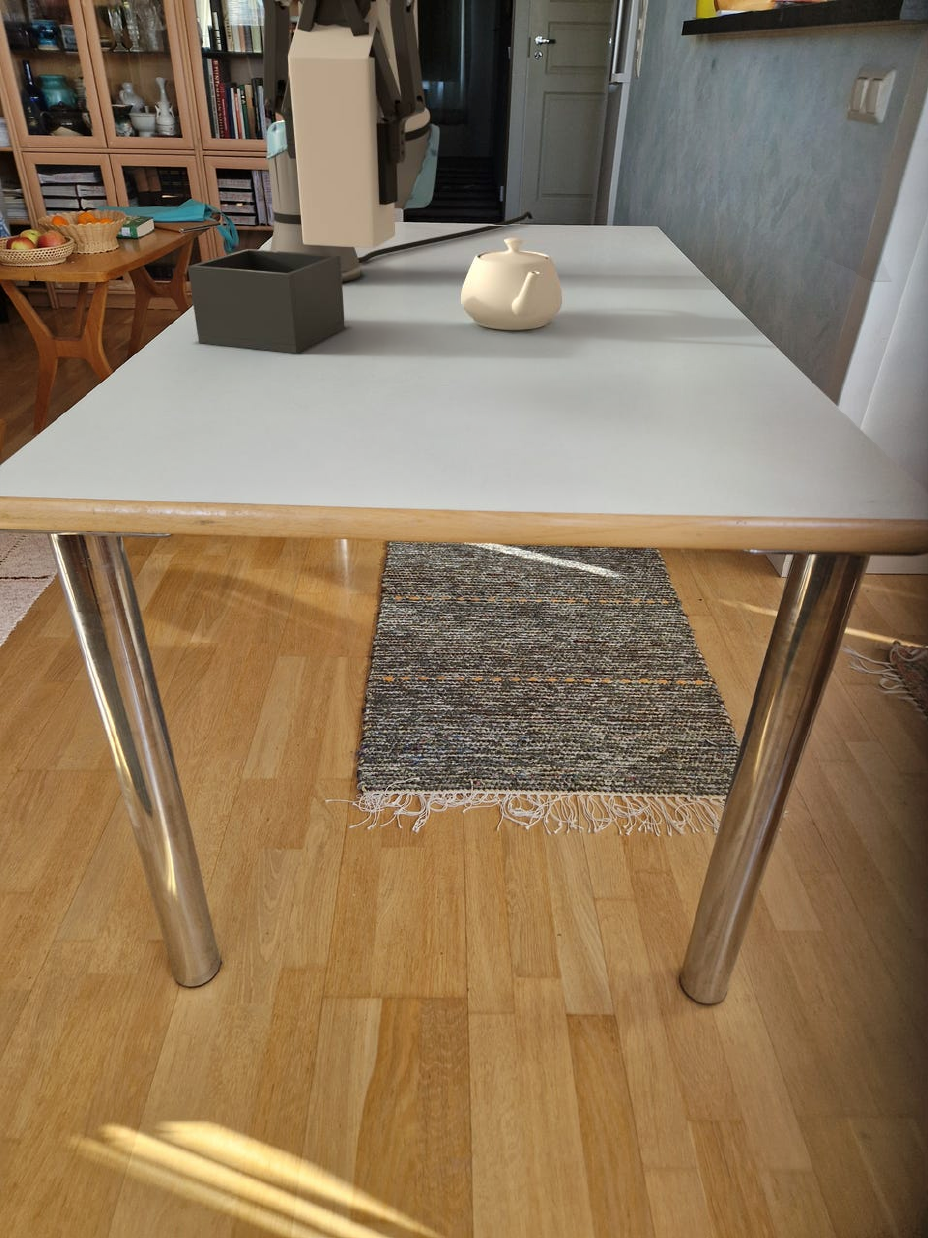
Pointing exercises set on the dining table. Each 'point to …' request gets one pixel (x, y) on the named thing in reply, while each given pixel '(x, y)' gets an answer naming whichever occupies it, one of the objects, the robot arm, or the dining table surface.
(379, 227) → the milk carton
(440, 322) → the dining table surface
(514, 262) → the teapot
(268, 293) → the waste bin
